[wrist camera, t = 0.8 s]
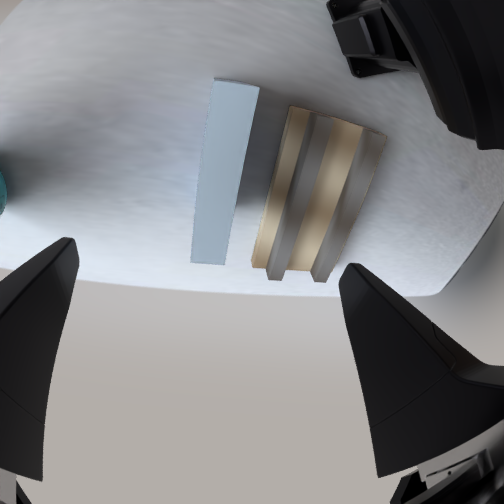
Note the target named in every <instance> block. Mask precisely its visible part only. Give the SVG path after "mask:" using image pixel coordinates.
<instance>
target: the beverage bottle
mask: <svg viewBox="0 0 504 504" xmlns="http://www.w3.org/2000/svg"><path fill="white" fill-rule="evenodd" d="M6 200H7V190H6V184H5V181H4V178H3V175H2V173H1V171H0V215H1V214H3V213H2V212H3V211H4V208H5V205H6ZM1 216H2V215H1Z"/></svg>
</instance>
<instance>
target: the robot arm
mask: <svg viewBox="0 0 504 504" xmlns="http://www.w3.org/2000/svg"><path fill="white" fill-rule="evenodd" d="M332 3H334V4H335V5H336V8H334V7H333V6H332ZM326 5H327V8H328V11H329V13H330V15H331V18H332V20H333V24H332V26H333V29H334V31H335V34H336V36H337V39H338V42H339V45H340V47H341V50H342V53H343V54H344V55H345V56H346V58H347V61H348V64H349V67H350V70H351V73H352V75H353V76H354V77H358V78H362V77H367V76H371V75H376V74H382V73H387V72H393V71H400V70H405V71H411V72H417V73H419V74H420V76H421V78H422V80H423V82H424V85H425V87H426V89H427V92H428V94H429V97H430V99H431V102H432V104H433V107H434V110H435V112H436V115H437V116H438V117H439V118H440V119H441V120H442V121H443V122H444V123H445V124H446V125H447V127H448V130H449V131H451V132H453V133H455V134H457V135H459V136H461V137H464V138H467V139H471V140H475V141H476V143H477V148H478V149H479V150H489V149H502V150H504V0H329V1H328V2H327V4H326ZM357 69H359V70H360V73H359V74H357V72H356V70H357ZM78 268H79V255H78V251H77V246H76V242H75V240H74V239H73V238H68V237H63V238H61V239H59V240H58V241H56V242H55V243H53V244H52V245H50V246H49V247H47V248H46V249H44V250H43V251H41V252H40V253H38V254H37V255H35V256H34V257H32V258H31V259H30V260H28V261H27V262H25V263H24V264H23V265H21V266H20V267H19V268H17V269H16V270H15V271H13V272H12V273H11V274H9V275H8V276H7V277H5V278H4V279H3V280H2V281H0V504H31V502H30V500H29V499H28V498H27V496H26V495H25V493H24V492H23V490H22V489H21V487H20V485H19V484H18V482H17V481H16V474H18V475H21V476H24V477H27V478H30V479H34V480H38V481H42V480H43V442H44V428H45V425H44V424H45V416H46V409H47V402H48V395H49V388H50V383H51V377H52V372H53V367H54V363H55V358H56V354H57V350H58V346H59V342H60V338H61V334H62V330H63V327H64V323H65V319H66V316H67V313H68V310H69V306H70V302H71V297H72V293H73V288H74V283H75V280H76V276H77V272H78ZM339 291H340V296H341V301H342V307H343V313H344V318H345V323H346V328H347V331H348V335H349V339H350V343H351V346H352V350H353V354H354V358H355V362H356V366H357V370H358V375H359V379H360V383H361V388H362V392H363V396H364V402H365V406H366V411H367V416H368V421H369V426H370V432H371V438H372V444H373V449H374V456H375V463H376V469H377V475H378V478H381V477H384V476H387V475H391V474H393V473H397V472H399V471H402V470H405V469H408V468H411V467H413V466H416V465H417V468H418V469H417V470H415V471H413V472H411V473H409V474H408V475H406V476H404V477H402V478H401V480H400V483H399V485H398V487H397V489H396V491H395V493H394V495H393V497H392V499H391V501H390V504H504V366H495V365H488V364H485V363H483V362H481V361H480V360H479V359H477V358H476V357H475V356H473V355H472V354H471V353H469V351H467V350H466V349H465V348H463V347H462V346H461V345H460V344H458V343H457V342H456V341H455V340H453V339H452V338H451V337H450V336H448V335H447V334H446V333H445V332H444V331H443V330H441V329H440V328H439V327H438V326H437V325H436V324H434V323H433V322H431V320H429V319H428V318H427V317H426V316H425V315H424V314H423V313H421V312H420V311H419V310H418V309H417V308H415V307H414V306H413V305H412V304H411V303H409V302H408V301H407V300H406V299H404V298H403V297H402V296H401V295H399V294H398V293H397V292H396V291H394V290H393V289H392V288H391V287H389V286H388V285H387V284H386V283H384V282H383V281H382V280H381V279H379V278H378V277H377V276H375V275H374V274H373V273H372V272H370V271H369V270H368V269H366V268H365V267H364V266H362V265H361V264H359V263H349V264H348V265H347V267H346V268H345V270H344V272H343V274H342V276H341V278H340V280H339Z"/></svg>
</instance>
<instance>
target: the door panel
mask: <svg viewBox="0 0 504 504" xmlns="http://www.w3.org/2000/svg"><path fill="white" fill-rule="evenodd" d="M259 89H260V87H257V86H254V85H251V84H247V83H244V82H238V81H232V80H225V79H217V78H214V81H213V87H212V92H211V98H210V103H209V109H208V115H207V121H206V127H205V134H204V141H203V148H202V155H201V162H200V170H199V178H198V186H197V194H196V203H195V213H194V224H193V236H192V249H191V263H201V264H215V265H225V259H226V254H227V248H228V243H229V237H230V232H231V226H232V221H233V216H234V210H235V205H236V200H237V195H238V189H239V184H240V179H241V174H242V169H243V164H244V159H245V154H246V150H247V145H248V140H249V135H250V130H251V126H252V121H253V116H254V112H255V107H256V103H257V98H258V94H259Z"/></svg>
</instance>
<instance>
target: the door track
mask: <svg viewBox="0 0 504 504" xmlns="http://www.w3.org/2000/svg"><path fill="white" fill-rule="evenodd" d="M386 139H387V136H385V135H384V134H382V133H379V132H377V131H374V130H371V129H369V128H366V127H363V126H360V125H357V124H354V123H351V122H348V121H345V120H342V119H339V118H335V117H332V116H329V115H325V114H322V113H318V112H315V111H311V110H307V109H303V108H299V107H295V106H291V105H290V108H289V112H288V116H287V120H286V124H285V128H284V132H283V136H282V140H281V144H280V148H279V152H278V156H277V160H276V164H275V168H274V172H273V176H272V180H271V184H270V187H269V191H268V195H267V199H266V203H265V207H264V211H263V215H262V219H261V223H260V227H259V231H258V235H257V239H256V243H255V247H254V251H253V255H252V259H251V262H252V267H253V268H265V269H266V272H267V276H268V280H278V281H282V278H283V276H284V273H285V270H297V271H310V273H311V275H312V277H313V280H314V282H325V283H326V281H327V279H328V277H329V275H330V273H331V272H332V271H333V268H334V266H335V264H336V262H337V260H338V258H339V256H340V254H341V251H342V249H343V247H344V245H345V243H346V240H347V238H348V236H349V234H350V231H351V229H352V227H353V224H354V222H355V220H356V217H357V215H358V213H359V210H360V208H361V205H362V203H363V200H364V198H365V195H366V193H367V190H368V188H369V185H370V183H371V180H372V178H373V175H374V172H375V170H376V167H377V164H378V161H379V159H380V156H381V153H382V150H383V147H384V144H385V142H386Z"/></svg>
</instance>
